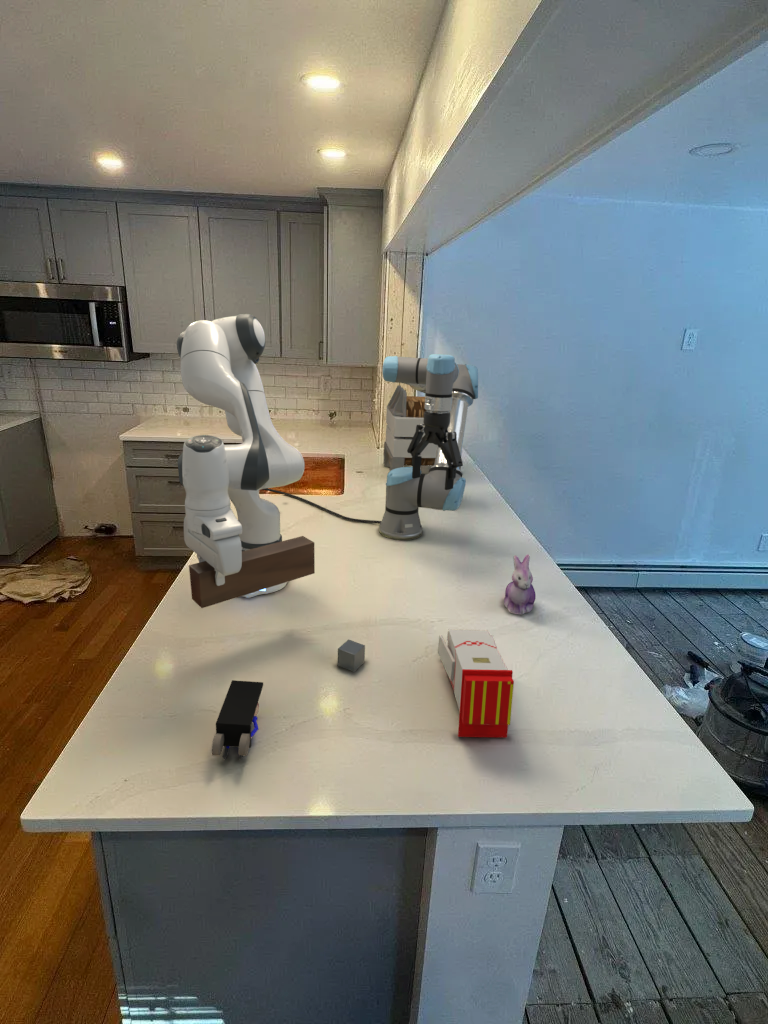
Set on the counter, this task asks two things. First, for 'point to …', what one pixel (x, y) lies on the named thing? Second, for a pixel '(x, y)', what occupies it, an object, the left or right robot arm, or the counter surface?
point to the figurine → (520, 588)
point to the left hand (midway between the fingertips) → (212, 578)
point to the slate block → (351, 655)
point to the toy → (478, 682)
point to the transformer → (405, 430)
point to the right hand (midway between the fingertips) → (432, 483)
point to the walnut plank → (254, 571)
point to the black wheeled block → (237, 718)
